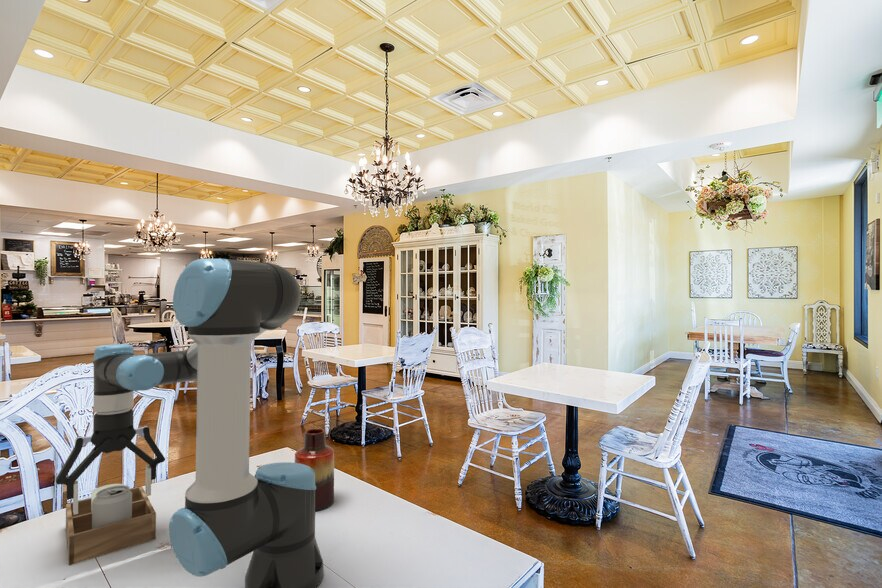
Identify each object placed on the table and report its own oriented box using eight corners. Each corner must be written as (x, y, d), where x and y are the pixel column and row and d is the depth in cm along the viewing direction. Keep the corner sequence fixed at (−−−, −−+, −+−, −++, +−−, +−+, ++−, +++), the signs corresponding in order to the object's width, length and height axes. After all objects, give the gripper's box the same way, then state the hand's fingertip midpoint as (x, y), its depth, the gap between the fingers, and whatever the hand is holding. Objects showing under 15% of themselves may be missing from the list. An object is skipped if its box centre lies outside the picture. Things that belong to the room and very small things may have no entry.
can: (110, 552, 98) (111, 498, 98) (82, 548, 99) (83, 495, 99) (139, 534, 105) (140, 484, 105) (113, 531, 107) (114, 481, 107)
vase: (324, 513, 118) (324, 437, 118) (286, 510, 120) (287, 435, 120) (339, 496, 128) (340, 426, 129) (305, 493, 130) (305, 424, 130)
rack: (155, 543, 103) (155, 513, 103) (68, 570, 93) (69, 536, 93) (141, 511, 118) (141, 485, 119) (65, 532, 108) (66, 503, 108)
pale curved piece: (125, 525, 109) (126, 489, 109) (91, 535, 105) (92, 497, 105) (121, 516, 114) (122, 481, 114) (89, 525, 110) (90, 488, 110)
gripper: (171, 400, 114) (171, 482, 113) (41, 417, 97) (41, 514, 96) (178, 404, 108) (178, 491, 108) (41, 424, 91) (40, 527, 91)
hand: (113, 502), depth 102 cm, fingers open, 13 cm apart
